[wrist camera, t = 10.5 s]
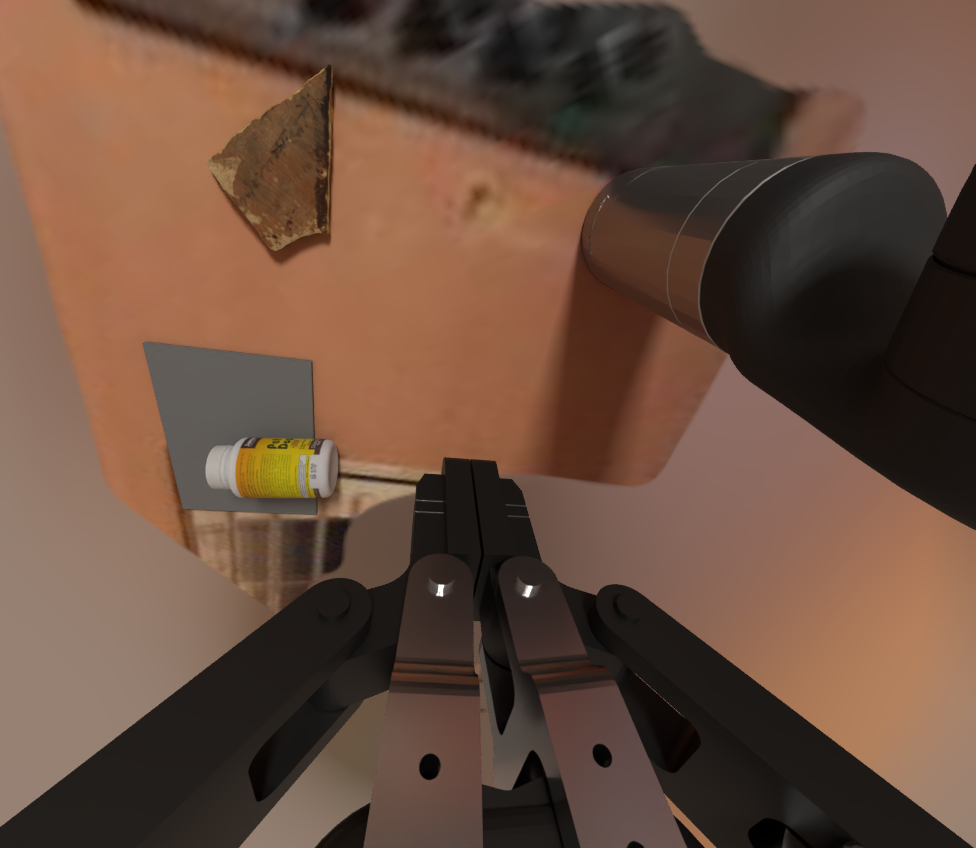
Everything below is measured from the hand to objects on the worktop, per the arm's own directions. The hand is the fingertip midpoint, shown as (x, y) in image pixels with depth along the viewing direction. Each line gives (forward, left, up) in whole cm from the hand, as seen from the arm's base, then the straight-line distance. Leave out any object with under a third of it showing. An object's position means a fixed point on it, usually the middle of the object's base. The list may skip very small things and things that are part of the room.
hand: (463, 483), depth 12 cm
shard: (+12, -7, -27) cm, 31 cm away
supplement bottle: (+8, +17, -23) cm, 30 cm away
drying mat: (+17, +17, -26) cm, 36 cm away
